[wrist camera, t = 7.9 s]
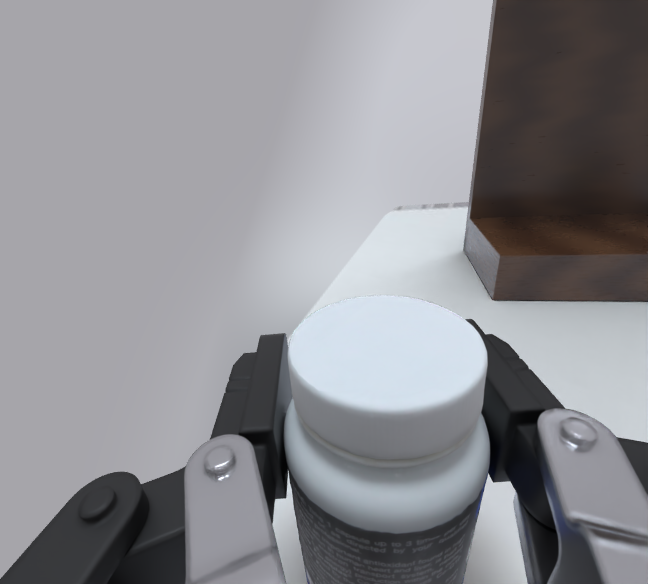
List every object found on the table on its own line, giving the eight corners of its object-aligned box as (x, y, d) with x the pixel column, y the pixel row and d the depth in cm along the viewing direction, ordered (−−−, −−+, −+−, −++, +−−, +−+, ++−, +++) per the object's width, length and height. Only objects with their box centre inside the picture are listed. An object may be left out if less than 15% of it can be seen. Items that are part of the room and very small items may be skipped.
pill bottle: (494, 634, 9) (585, 397, 5) (320, 689, 8) (275, 464, 4) (417, 472, 13) (435, 275, 9) (297, 500, 12) (263, 300, 9)
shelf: (492, 300, 28) (580, -203, 16) (463, 249, 39) (502, -78, 26) (782, 302, 25) (1180, -336, 13) (664, 246, 35) (817, -132, 23)
